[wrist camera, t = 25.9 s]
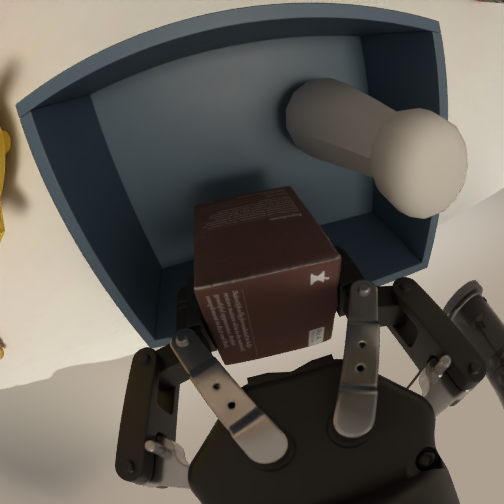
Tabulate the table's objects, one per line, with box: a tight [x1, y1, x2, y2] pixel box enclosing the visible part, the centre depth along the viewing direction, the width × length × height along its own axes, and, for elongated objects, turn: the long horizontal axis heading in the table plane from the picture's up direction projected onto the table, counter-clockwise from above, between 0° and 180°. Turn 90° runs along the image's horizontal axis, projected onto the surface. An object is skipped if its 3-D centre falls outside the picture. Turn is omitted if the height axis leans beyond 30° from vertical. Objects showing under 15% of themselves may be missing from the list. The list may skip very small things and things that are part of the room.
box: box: [194, 186, 341, 365], centre depth 15 cm, size 6×6×7 cm
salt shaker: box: [286, 78, 468, 219], centre depth 13 cm, size 6×6×13 cm
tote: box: [16, 3, 448, 348], centre depth 16 cm, size 18×22×9 cm
